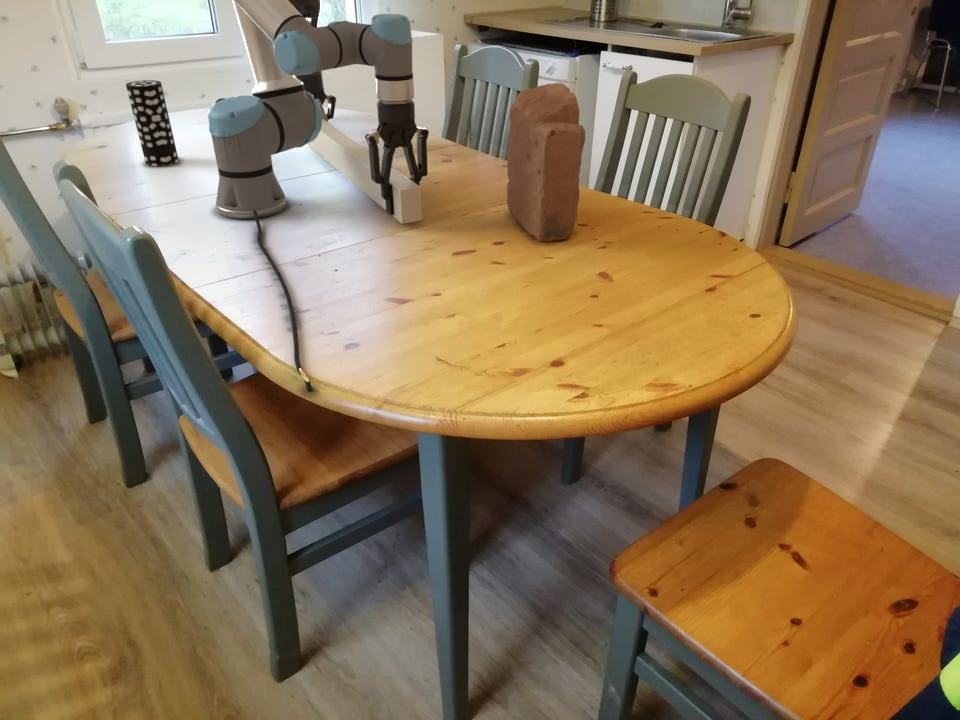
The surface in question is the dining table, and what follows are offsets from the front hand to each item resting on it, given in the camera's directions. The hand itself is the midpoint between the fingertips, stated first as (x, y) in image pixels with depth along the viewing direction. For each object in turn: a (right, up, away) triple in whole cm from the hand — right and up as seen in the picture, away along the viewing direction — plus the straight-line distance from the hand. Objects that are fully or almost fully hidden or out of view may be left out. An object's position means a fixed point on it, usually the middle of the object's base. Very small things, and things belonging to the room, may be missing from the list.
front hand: (401, 210), depth 151 cm
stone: (+31, -3, 0) cm, 31 cm away
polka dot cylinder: (-69, +29, +30) cm, 80 cm away
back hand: (-30, +31, +44) cm, 61 cm away
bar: (-15, +14, +23) cm, 31 cm away
